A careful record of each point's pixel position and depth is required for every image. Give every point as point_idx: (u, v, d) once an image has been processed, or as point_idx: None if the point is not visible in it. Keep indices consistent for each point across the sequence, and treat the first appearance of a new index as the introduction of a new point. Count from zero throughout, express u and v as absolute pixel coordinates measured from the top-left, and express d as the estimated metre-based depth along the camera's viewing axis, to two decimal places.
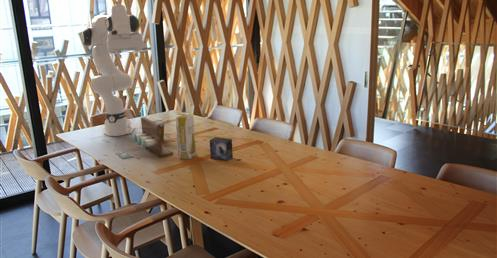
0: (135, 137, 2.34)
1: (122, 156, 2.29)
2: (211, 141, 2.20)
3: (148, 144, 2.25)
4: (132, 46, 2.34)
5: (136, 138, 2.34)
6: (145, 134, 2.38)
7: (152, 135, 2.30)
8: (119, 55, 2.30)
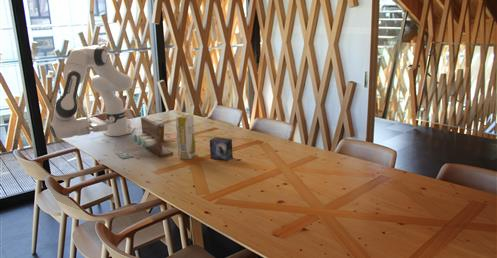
0: (135, 137, 2.34)
1: (122, 156, 2.29)
2: (211, 141, 2.20)
3: (148, 144, 2.25)
4: None
5: (136, 138, 2.34)
6: (145, 134, 2.38)
7: (152, 135, 2.30)
8: None
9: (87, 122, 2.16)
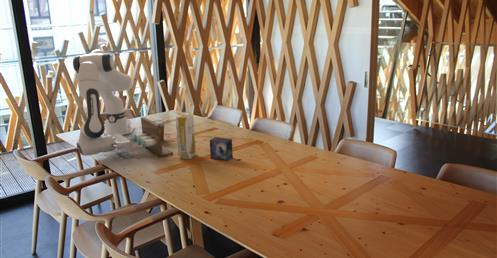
0: (135, 137, 2.34)
1: (122, 156, 2.29)
2: (211, 141, 2.20)
3: (148, 144, 2.25)
4: None
5: (136, 138, 2.34)
6: (145, 134, 2.38)
7: (152, 135, 2.30)
8: None
9: (112, 139, 2.26)
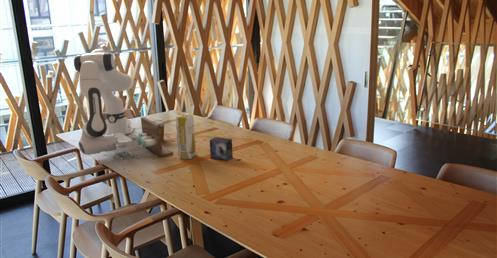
0: (141, 136, 2.36)
1: (122, 156, 2.29)
2: (211, 141, 2.20)
3: (148, 144, 2.25)
4: None
5: None
6: None
7: (152, 135, 2.30)
8: None
9: (114, 138, 2.26)
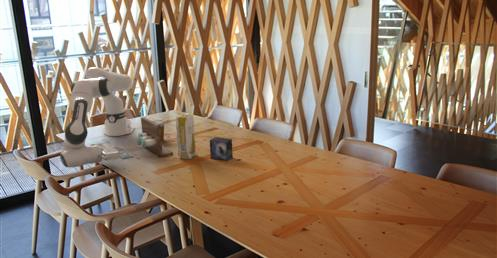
0: (141, 136, 2.36)
1: (122, 156, 2.29)
2: (211, 141, 2.20)
3: (148, 144, 2.25)
4: None
5: None
6: None
7: (152, 135, 2.30)
8: None
9: (99, 150, 2.08)
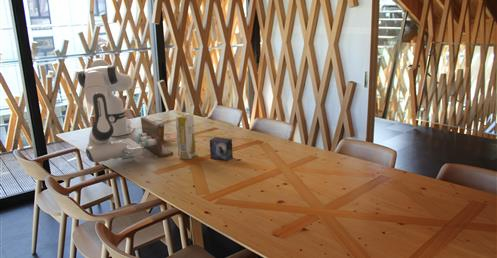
0: (141, 136, 2.36)
1: None
2: (211, 141, 2.20)
3: (150, 144, 2.25)
4: None
5: None
6: None
7: (152, 135, 2.30)
8: None
9: (123, 145, 2.15)
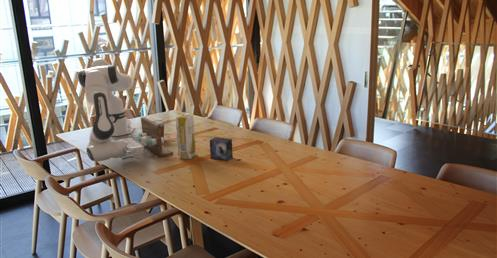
0: (141, 136, 2.36)
1: (122, 156, 2.29)
2: (211, 141, 2.20)
3: (154, 143, 2.27)
4: None
5: None
6: None
7: (152, 135, 2.30)
8: None
9: (123, 144, 2.15)
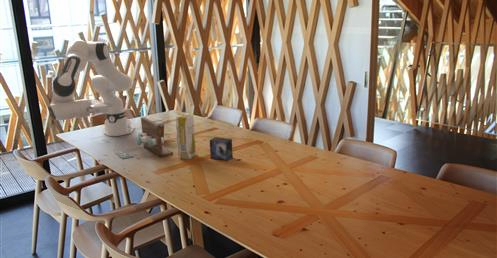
0: (141, 136, 2.36)
1: (122, 156, 2.29)
2: (211, 141, 2.20)
3: (154, 143, 2.27)
4: None
5: None
6: None
7: (152, 135, 2.30)
8: None
9: (87, 103, 2.09)
